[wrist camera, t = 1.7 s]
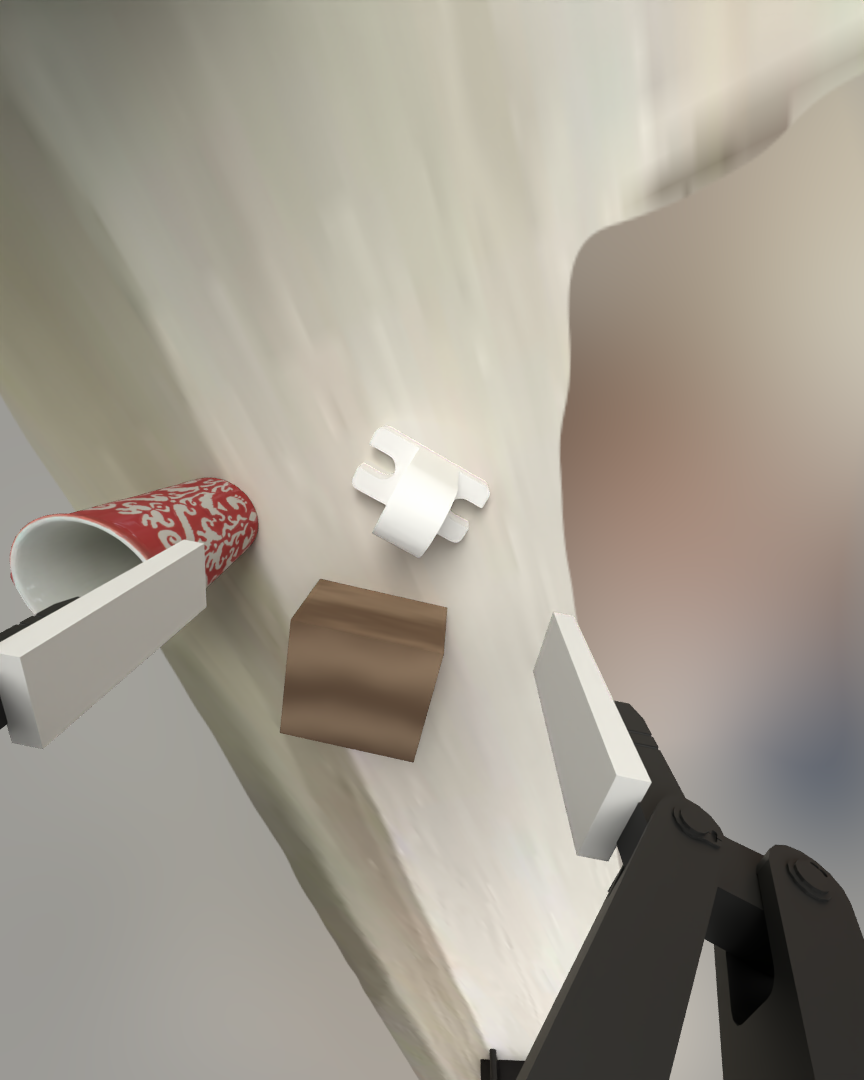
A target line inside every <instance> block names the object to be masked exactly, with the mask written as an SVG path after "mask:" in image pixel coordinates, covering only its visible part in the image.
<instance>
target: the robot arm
mask: <svg viewBox="0 0 864 1080" xmlns="http://www.w3.org/2000/svg"><path fill="white" fill-rule="evenodd" d="M206 607H207V605H206V578H205V551H204V543H199V542H194V541H189V540H182V541H180V542H179V543H177V544H175V545H173V546H171V547H170V548H168V549H166V550H164V551H162V552H161V553H159V554H157V555H155V556H154V557H152V558H150V559H148V560H146V561H145V562H143V563H141V564H139V565H137V566H136V567H134V568H132V569H130V570H128V571H127V572H125V573H123V574H121V575H120V576H118V577H116V578H114V579H112V580H111V581H109V582H107V583H105V584H103V585H102V586H100V587H98V588H96V589H94V590H93V591H91V592H89V593H87V594H86V595H84V596H82V597H79V596H77V597H74V598H71V599H68V600H65V601H62V602H59V603H55V604H53V605H51V606H50V607H48V608H46V609H44V610H42V611H40V612H38V613H37V614H36V615H35V616H31V617H29V618H27V619H25V620H24V621H22V622H20V624H19V625H14V626H12V627H11V628H9V629H7V630H5V631H3V632H1V633H0V729H1V728H3V727H4V726H5V725H7V727H8V731H9V734H10V737H11V741H12V743H16V744H20V745H25V746H30V747H35V748H40V749H43V748H45V747H46V746H47V745H48V744H49V743H50V742H51V741H53V740H54V739H55V738H56V737H57V736H59V735H60V734H61V733H62V732H63V731H64V730H65V729H66V728H68V727H69V726H70V725H71V724H72V723H74V722H75V721H76V720H77V719H78V718H79V717H80V716H81V715H83V714H84V713H85V712H86V711H87V710H88V709H89V708H91V707H92V706H93V705H94V704H95V703H96V702H98V701H99V700H100V699H101V698H102V697H103V696H105V695H106V694H107V693H108V692H109V691H110V690H111V689H113V688H114V687H115V686H116V685H117V684H118V683H120V682H121V681H122V680H123V679H124V678H125V677H126V676H127V675H129V674H130V673H131V672H132V671H133V670H135V669H136V668H137V667H138V666H139V665H140V664H141V663H143V662H144V661H145V660H146V659H147V658H148V657H149V656H150V655H152V654H153V653H154V652H155V651H156V650H157V649H159V648H160V647H161V646H162V645H163V644H164V643H166V642H167V641H168V640H169V639H170V638H171V637H173V636H174V635H175V634H176V633H177V632H178V631H179V630H181V629H182V628H183V627H184V626H185V625H186V624H187V623H189V622H190V621H191V620H192V619H193V618H194V617H196V616H197V615H198V614H199V613H200V612H201V611H202V610H204V609H205V608H206ZM533 673H534V677H535V681H536V685H537V689H538V694H539V698H540V702H541V706H542V711H543V715H544V719H545V723H546V727H547V732H548V736H549V740H550V744H551V748H552V753H553V757H554V761H555V765H556V770H557V774H558V778H559V782H560V786H561V791H562V795H563V799H564V803H565V808H566V812H567V816H568V820H569V824H570V829H571V833H572V837H573V841H574V846H575V850H576V854H577V855H578V856H583V857H588V858H594V859H599V860H604V861H609V859H610V857H611V855H612V854H613V852H614V850H615V848H616V846H617V847H618V850H619V853H620V856H621V859H622V862H623V866H622V868H621V869H620V871H619V873H618V874H617V876H616V878H615V880H614V881H613V883H612V885H611V887H610V888H609V890H608V892H609V893H608V895H607V897H606V899H605V901H604V903H603V905H602V907H601V909H600V911H599V913H598V915H597V917H596V919H595V921H594V923H593V925H592V927H591V929H590V931H589V933H588V935H587V937H586V939H585V941H584V943H583V945H582V947H581V950H580V952H579V954H578V956H577V958H576V960H575V962H574V964H573V966H572V968H571V970H570V972H569V974H568V976H567V978H566V980H565V982H564V984H563V986H562V988H561V990H560V992H559V994H558V996H557V998H556V1000H555V1002H554V1004H553V1006H552V1008H551V1010H550V1012H549V1014H548V1016H547V1018H546V1020H545V1022H544V1024H543V1026H542V1028H541V1030H540V1032H539V1034H538V1036H537V1038H536V1040H535V1042H534V1044H533V1046H532V1048H531V1050H530V1052H529V1054H528V1056H527V1058H526V1060H525V1062H524V1064H523V1066H522V1069H521V1071H520V1073H519V1075H518V1077H517V1079H516V1080H669V1077H670V1073H671V1069H672V1066H673V1061H674V1058H675V1054H676V1050H677V1046H678V1042H679V1038H680V1034H681V1030H682V1026H683V1022H684V1018H685V1013H686V1010H687V1006H688V1002H689V998H690V994H691V990H692V986H693V982H694V978H695V974H696V970H697V966H698V962H699V958H700V954H701V950H702V946H703V942H704V939H706V940H707V941H709V942H711V943H713V944H714V950H715V951H714V952H715V967H716V981H717V996H718V1009H719V1023H720V1038H721V1053H722V1067H723V1080H864V939H863V936H862V933H861V930H860V928H859V925H858V922H857V919H856V917H855V914H854V911H853V908H852V905H851V903H850V901H849V899H848V897H847V896H846V894H845V892H844V890H843V889H842V887H841V886H840V885H839V884H838V883H837V882H836V881H835V879H834V878H833V877H832V876H831V874H830V873H828V872H827V871H826V870H825V869H824V868H823V867H822V866H820V865H819V864H818V863H817V862H816V861H814V860H813V859H812V858H810V857H808V856H807V855H805V854H804V853H802V852H801V851H798V850H796V849H794V848H791V847H789V846H786V845H775V846H773V847H772V848H770V849H769V850H768V851H767V853H766V854H765V855H761V854H759V853H757V852H755V851H753V850H751V849H749V848H747V847H745V846H743V845H741V844H738V843H736V842H734V841H732V840H730V839H728V838H727V837H725V836H724V835H723V833H722V831H721V829H720V827H719V826H718V825H717V823H716V822H715V821H714V820H713V819H712V817H711V816H710V815H709V814H708V813H706V812H705V811H704V810H703V809H701V808H700V807H699V806H698V805H696V804H694V803H693V802H691V801H689V800H688V799H686V798H685V796H684V795H683V793H682V791H681V789H680V787H679V785H678V783H677V781H676V779H675V777H674V776H673V774H672V772H671V770H670V768H669V766H668V764H667V762H666V760H665V759H664V757H663V755H662V753H661V751H660V750H658V745H657V744H656V742H655V740H654V738H653V737H651V732H650V730H649V729H648V727H647V725H646V723H645V721H644V719H643V718H642V717H641V716H640V715H639V714H638V713H637V711H636V710H634V708H633V707H632V706H631V705H630V704H628V703H623V702H618V701H613V699H612V696H611V694H610V692H609V690H608V688H607V686H606V684H605V682H604V679H603V677H602V675H601V673H600V671H599V669H598V667H597V665H596V662H595V660H594V658H593V656H592V654H591V652H590V649H589V648H588V645H587V643H586V641H585V639H584V637H583V635H582V633H581V630H580V628H579V626H578V624H577V622H576V619H575V617H574V616H572V615H567V614H562V613H556V612H553V614H552V617H551V620H550V623H549V626H548V629H547V632H546V635H545V638H544V641H543V644H542V647H541V650H540V653H539V656H538V658H537V661H536V664H535V667H534V670H533Z"/></svg>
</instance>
